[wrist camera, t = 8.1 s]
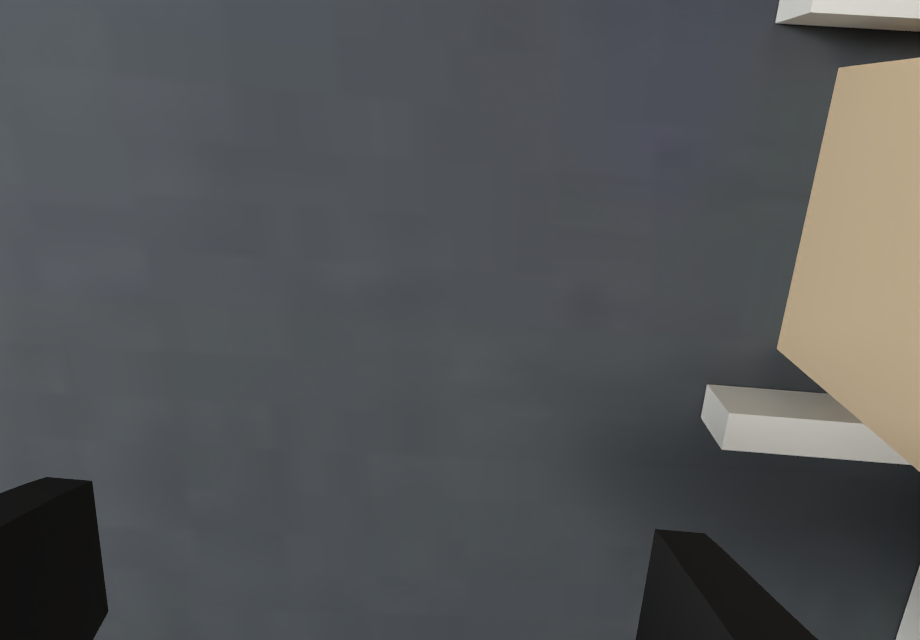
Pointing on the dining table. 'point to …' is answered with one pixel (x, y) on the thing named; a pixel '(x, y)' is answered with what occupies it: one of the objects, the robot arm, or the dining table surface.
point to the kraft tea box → (864, 256)
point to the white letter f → (806, 413)
